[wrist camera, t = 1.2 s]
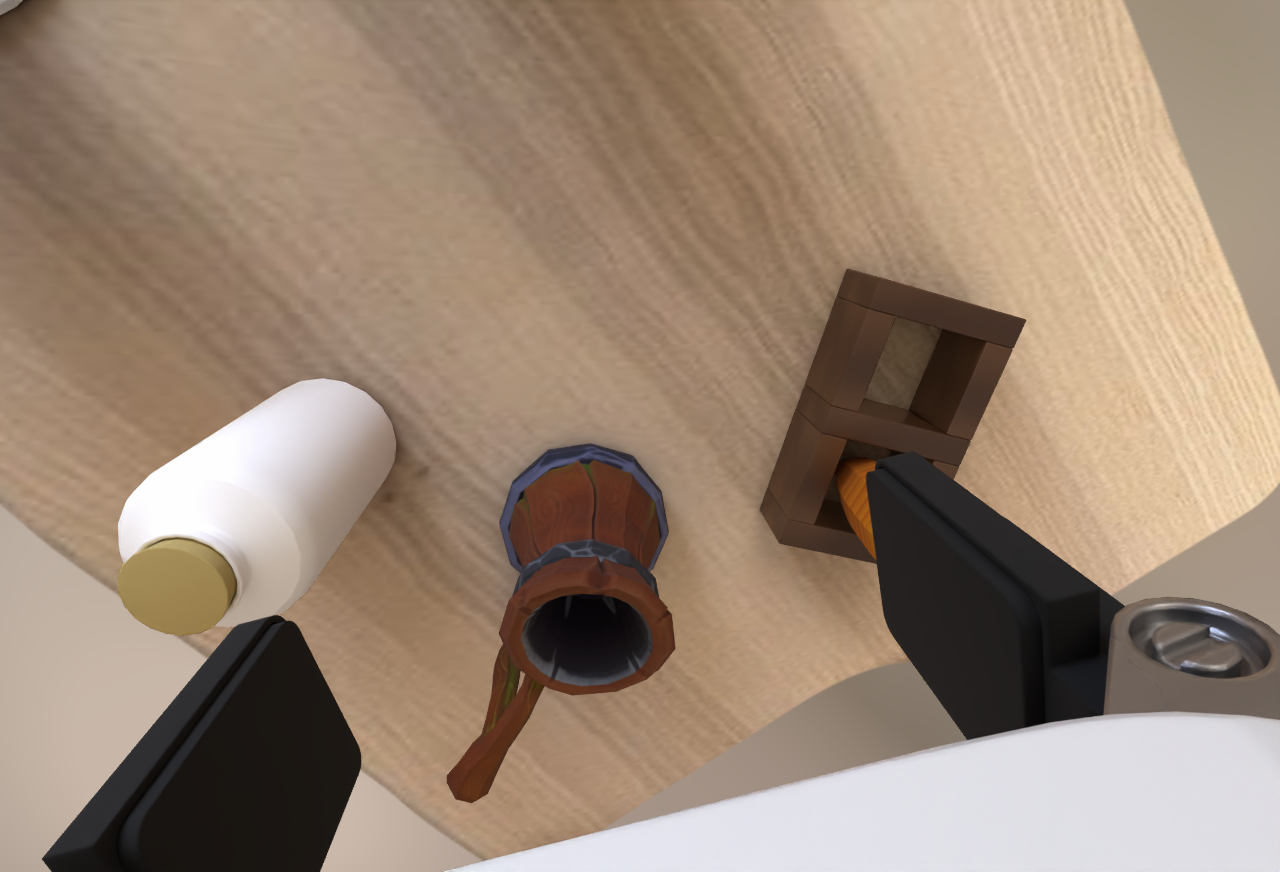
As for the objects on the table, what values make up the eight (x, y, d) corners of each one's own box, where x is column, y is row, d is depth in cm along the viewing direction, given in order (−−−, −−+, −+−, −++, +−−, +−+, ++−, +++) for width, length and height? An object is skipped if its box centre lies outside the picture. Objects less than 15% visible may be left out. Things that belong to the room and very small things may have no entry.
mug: (556, 672, 50) (547, 855, 36) (422, 602, 47) (355, 773, 33) (698, 495, 46) (749, 625, 32) (561, 406, 43) (552, 507, 29)
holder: (846, 268, 42) (880, 277, 37) (979, 306, 43) (1027, 319, 39) (759, 509, 47) (779, 543, 42) (880, 535, 49) (911, 571, 44)
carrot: (804, 495, 47) (898, 621, 33) (815, 429, 45) (920, 533, 31) (870, 497, 48) (991, 623, 33) (884, 433, 46) (1017, 536, 32)
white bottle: (414, 399, 42) (303, 533, 25) (383, 509, 45) (263, 698, 28) (280, 356, 41) (66, 469, 24) (256, 473, 43) (46, 650, 26)
